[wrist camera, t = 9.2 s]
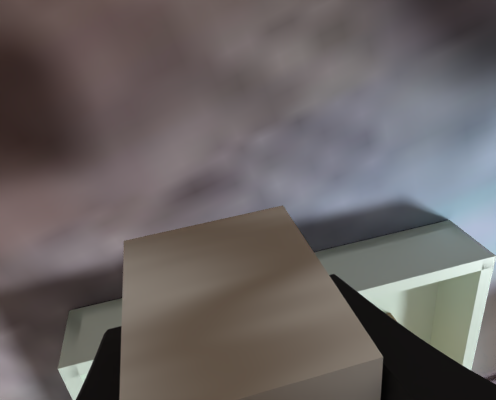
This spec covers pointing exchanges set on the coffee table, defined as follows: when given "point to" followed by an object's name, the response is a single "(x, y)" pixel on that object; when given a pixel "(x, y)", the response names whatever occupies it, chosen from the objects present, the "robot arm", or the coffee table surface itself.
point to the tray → (368, 285)
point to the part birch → (239, 317)
